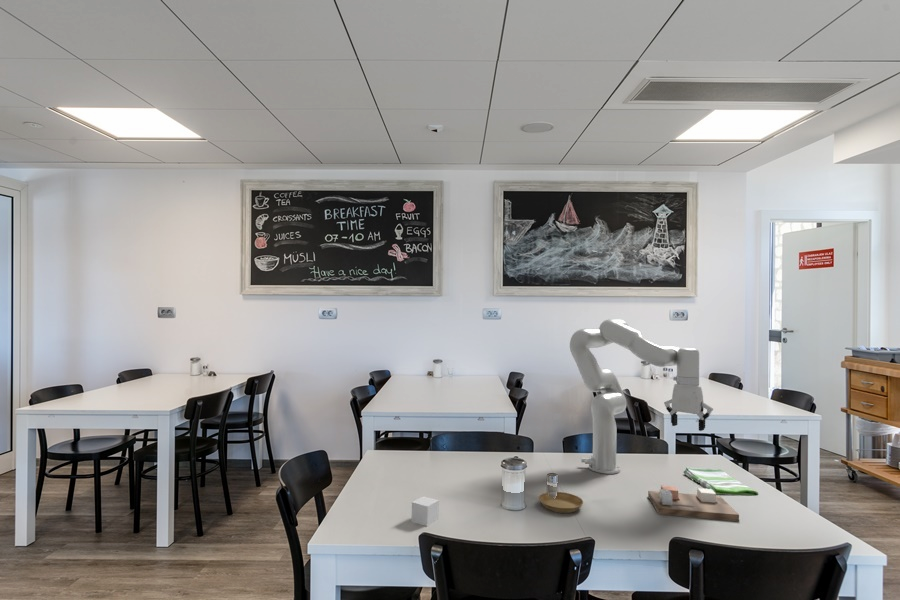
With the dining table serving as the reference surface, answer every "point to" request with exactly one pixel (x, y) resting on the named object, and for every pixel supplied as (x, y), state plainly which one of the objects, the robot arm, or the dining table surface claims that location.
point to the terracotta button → (672, 490)
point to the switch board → (694, 507)
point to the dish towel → (718, 481)
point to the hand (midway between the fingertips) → (687, 427)
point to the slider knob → (665, 497)
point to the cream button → (706, 495)
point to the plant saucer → (561, 502)
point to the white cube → (425, 511)
